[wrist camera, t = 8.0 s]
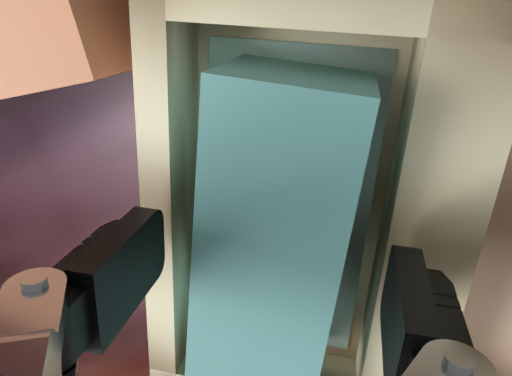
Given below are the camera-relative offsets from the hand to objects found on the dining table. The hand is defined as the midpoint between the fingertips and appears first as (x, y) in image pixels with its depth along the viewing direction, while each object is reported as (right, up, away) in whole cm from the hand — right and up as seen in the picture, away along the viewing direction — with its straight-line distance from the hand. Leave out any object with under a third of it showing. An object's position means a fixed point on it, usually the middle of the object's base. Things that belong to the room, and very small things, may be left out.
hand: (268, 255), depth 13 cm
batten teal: (+1, +1, +3) cm, 3 cm away
